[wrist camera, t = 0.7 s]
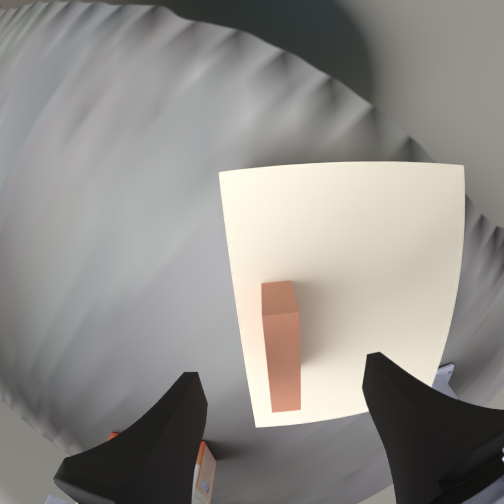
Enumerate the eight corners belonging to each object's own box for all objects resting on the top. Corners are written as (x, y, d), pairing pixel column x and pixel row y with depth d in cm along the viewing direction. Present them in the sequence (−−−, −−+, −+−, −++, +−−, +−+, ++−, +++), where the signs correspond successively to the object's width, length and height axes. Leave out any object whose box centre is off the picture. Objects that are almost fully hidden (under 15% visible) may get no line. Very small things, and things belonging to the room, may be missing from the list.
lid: (426, 389, 17) (446, 420, 13) (256, 421, 18) (255, 463, 14) (457, 165, 12) (502, 167, 9) (220, 172, 13) (204, 170, 9)
